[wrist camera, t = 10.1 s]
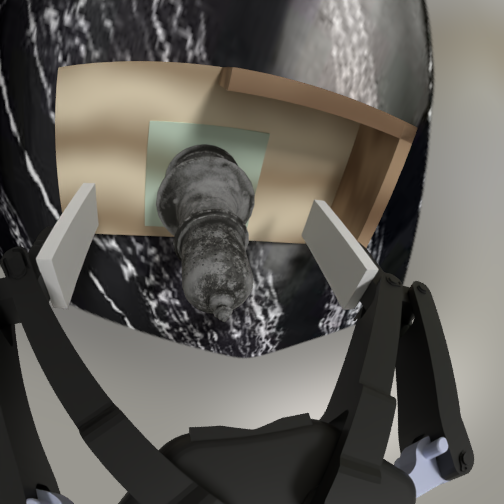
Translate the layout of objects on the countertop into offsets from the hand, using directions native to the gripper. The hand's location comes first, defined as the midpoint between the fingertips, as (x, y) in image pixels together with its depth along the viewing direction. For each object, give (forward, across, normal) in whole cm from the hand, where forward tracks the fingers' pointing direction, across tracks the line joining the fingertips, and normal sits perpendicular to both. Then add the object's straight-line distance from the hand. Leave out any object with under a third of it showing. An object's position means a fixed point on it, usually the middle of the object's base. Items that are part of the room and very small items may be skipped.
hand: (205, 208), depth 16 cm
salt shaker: (+4, 0, 0) cm, 4 cm away
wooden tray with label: (+5, 0, +2) cm, 5 cm away
